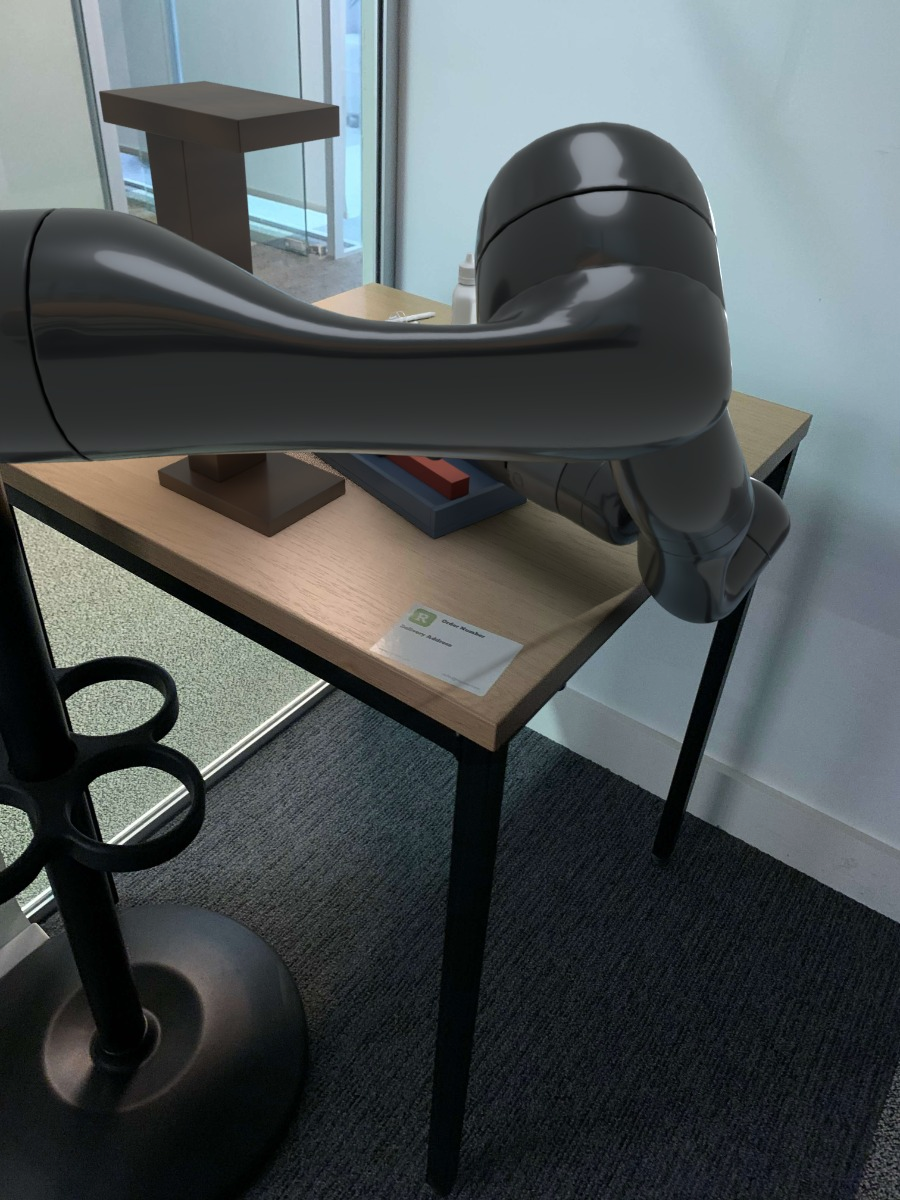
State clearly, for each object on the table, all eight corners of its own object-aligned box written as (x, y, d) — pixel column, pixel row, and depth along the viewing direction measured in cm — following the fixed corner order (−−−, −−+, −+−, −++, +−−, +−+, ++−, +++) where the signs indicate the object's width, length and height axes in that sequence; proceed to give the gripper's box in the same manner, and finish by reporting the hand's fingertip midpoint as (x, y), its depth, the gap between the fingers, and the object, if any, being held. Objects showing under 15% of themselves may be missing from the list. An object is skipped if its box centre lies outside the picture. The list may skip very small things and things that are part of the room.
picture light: (433, 315, 124) (434, 299, 123) (452, 325, 121) (453, 309, 120) (346, 332, 117) (346, 316, 116) (364, 343, 114) (364, 326, 113)
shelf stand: (345, 492, 84) (339, 105, 65) (269, 537, 77) (238, 119, 58) (238, 446, 90) (204, 80, 71) (159, 484, 84) (98, 91, 64)
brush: (474, 491, 84) (476, 462, 82) (445, 502, 82) (446, 473, 80) (367, 423, 94) (367, 397, 92) (339, 432, 92) (338, 404, 91)
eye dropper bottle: (490, 350, 115) (499, 253, 108) (462, 361, 111) (468, 262, 104) (464, 340, 117) (471, 244, 110) (435, 351, 113) (440, 253, 106)
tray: (526, 502, 85) (530, 475, 83) (433, 539, 79) (435, 511, 77) (391, 419, 97) (391, 394, 96) (302, 445, 91) (300, 420, 90)
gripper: (614, 390, 74) (482, 329, 83) (483, 434, 66) (355, 360, 76) (600, 472, 78) (476, 405, 88) (476, 521, 70) (356, 442, 80)
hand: (420, 384), depth 82 cm, fingers open, 8 cm apart
